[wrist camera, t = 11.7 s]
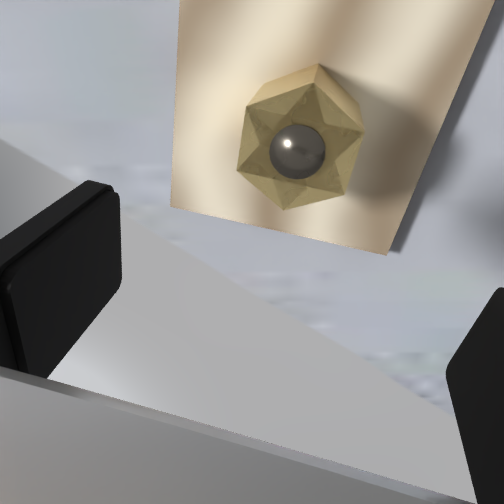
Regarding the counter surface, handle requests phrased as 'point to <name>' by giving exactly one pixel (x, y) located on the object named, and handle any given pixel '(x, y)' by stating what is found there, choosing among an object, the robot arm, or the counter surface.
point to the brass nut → (300, 138)
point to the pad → (346, 74)
